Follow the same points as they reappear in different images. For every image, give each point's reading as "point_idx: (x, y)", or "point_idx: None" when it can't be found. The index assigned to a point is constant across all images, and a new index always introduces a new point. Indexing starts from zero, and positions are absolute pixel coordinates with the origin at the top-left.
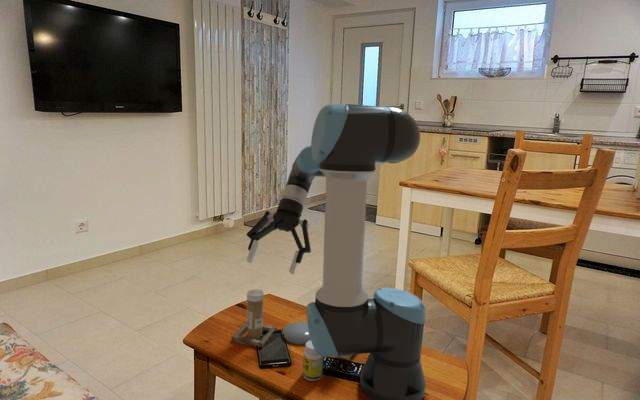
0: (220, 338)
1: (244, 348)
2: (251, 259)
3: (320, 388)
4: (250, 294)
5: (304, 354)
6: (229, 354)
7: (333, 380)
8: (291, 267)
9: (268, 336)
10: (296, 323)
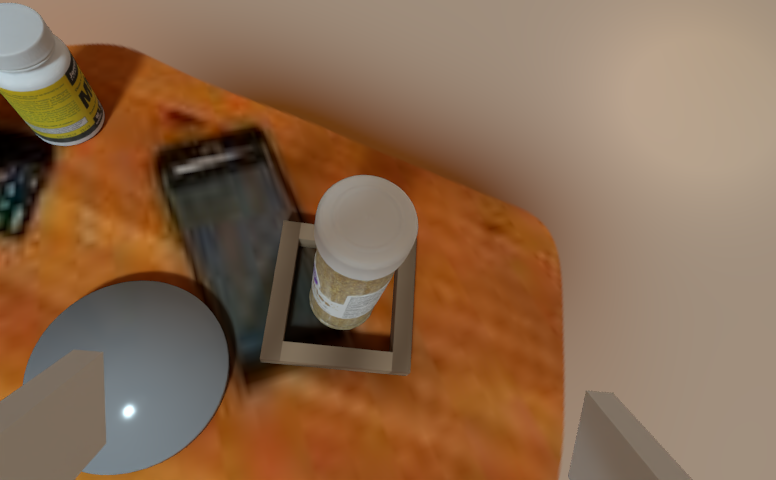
0: (458, 254)
1: None
2: (588, 466)
3: None
4: (385, 184)
5: (65, 45)
6: (383, 173)
7: None
8: (57, 374)
9: (276, 273)
10: (168, 441)
